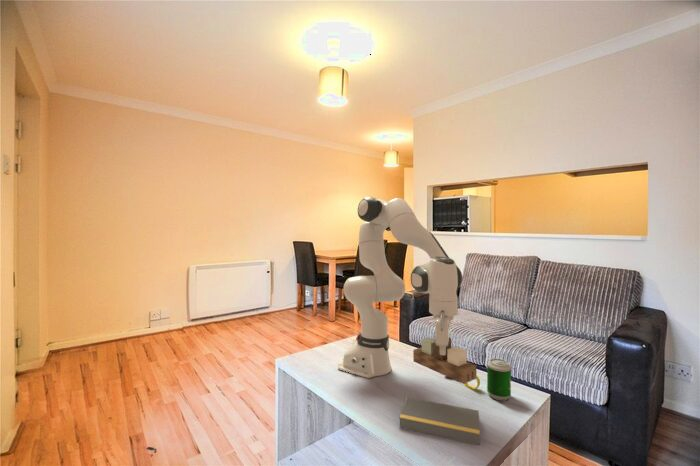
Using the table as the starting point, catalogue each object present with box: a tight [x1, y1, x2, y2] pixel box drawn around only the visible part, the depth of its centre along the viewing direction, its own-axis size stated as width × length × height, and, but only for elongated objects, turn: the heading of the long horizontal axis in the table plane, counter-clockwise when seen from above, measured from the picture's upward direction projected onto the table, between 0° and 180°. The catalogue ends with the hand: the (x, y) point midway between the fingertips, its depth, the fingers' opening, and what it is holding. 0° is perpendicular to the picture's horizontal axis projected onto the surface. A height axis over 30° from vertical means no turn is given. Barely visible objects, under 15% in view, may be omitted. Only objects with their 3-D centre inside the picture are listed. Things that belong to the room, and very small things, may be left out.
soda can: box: [486, 358, 512, 401], centre depth 112 cm, size 8×8×12 cm
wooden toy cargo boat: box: [412, 337, 477, 385], centre depth 103 cm, size 20×6×10 cm, turn 36°
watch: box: [464, 374, 481, 390], centre depth 118 cm, size 6×3×6 cm, turn 43°
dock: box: [399, 397, 481, 446], centre depth 97 cm, size 22×12×3 cm, turn 70°
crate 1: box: [421, 337, 435, 355], centre depth 107 cm, size 4×4×4 cm
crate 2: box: [447, 346, 468, 366], centre depth 99 cm, size 4×4×4 cm
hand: (443, 350), depth 103 cm, fingers closed on wooden toy cargo boat, 5 cm apart
